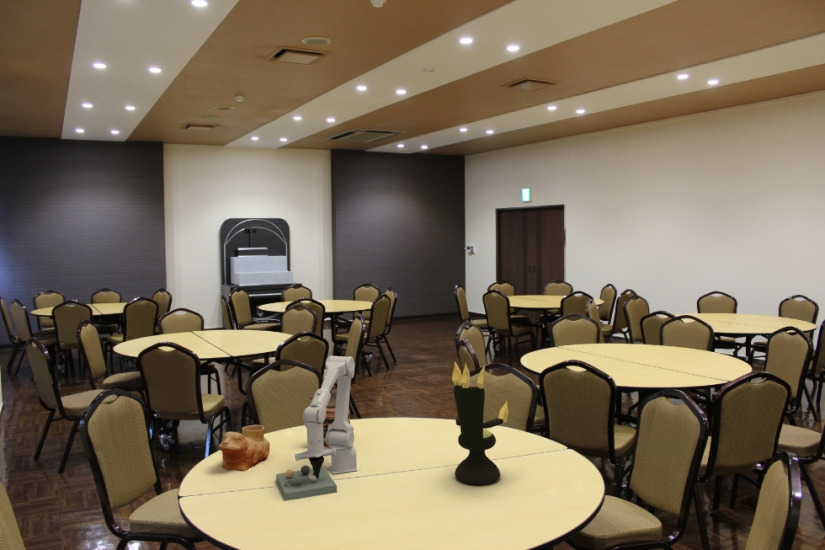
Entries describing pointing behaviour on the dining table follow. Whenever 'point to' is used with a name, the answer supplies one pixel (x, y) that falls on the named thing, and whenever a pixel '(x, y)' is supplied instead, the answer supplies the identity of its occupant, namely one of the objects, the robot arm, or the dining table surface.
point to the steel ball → (312, 477)
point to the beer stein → (330, 415)
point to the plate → (305, 485)
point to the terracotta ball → (289, 473)
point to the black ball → (305, 470)
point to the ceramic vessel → (244, 448)
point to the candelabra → (475, 429)
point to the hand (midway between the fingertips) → (316, 477)
